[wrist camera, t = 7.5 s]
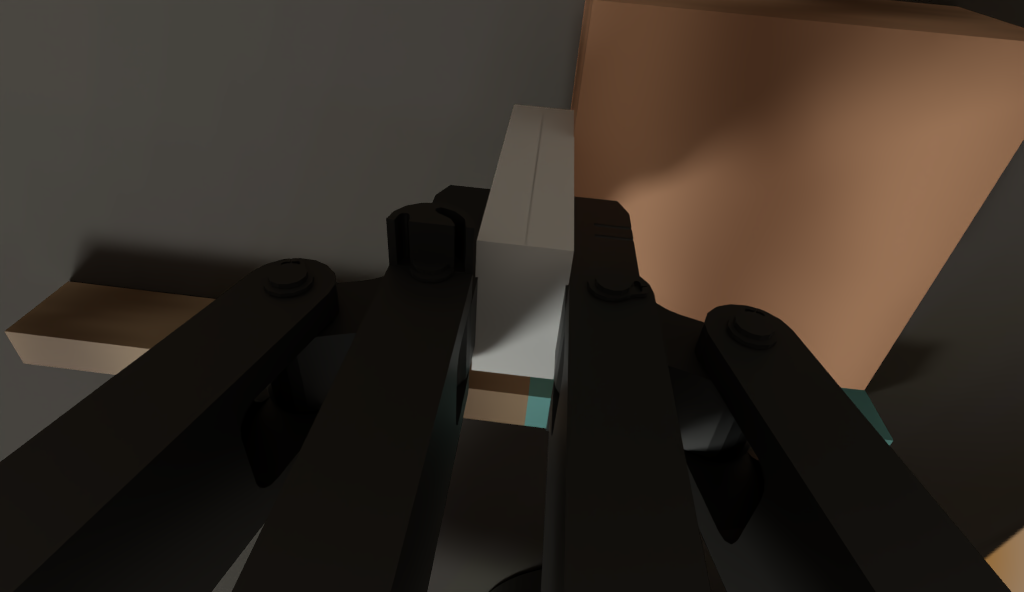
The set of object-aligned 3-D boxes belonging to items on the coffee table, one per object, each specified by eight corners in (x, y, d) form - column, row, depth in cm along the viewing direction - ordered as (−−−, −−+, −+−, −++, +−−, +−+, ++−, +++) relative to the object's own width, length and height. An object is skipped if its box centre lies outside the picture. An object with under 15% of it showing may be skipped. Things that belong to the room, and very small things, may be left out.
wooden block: (951, 4, 14) (1082, 46, 10) (810, 295, 19) (864, 390, 16) (589, -30, 14) (593, -1, 11) (549, 266, 20) (543, 352, 16)
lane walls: (626, -360, 11) (641, -430, 8) (529, 366, 22) (524, 425, 20) (-277, -436, 11) (-511, -524, 9) (82, 311, 22) (23, 363, 20)
